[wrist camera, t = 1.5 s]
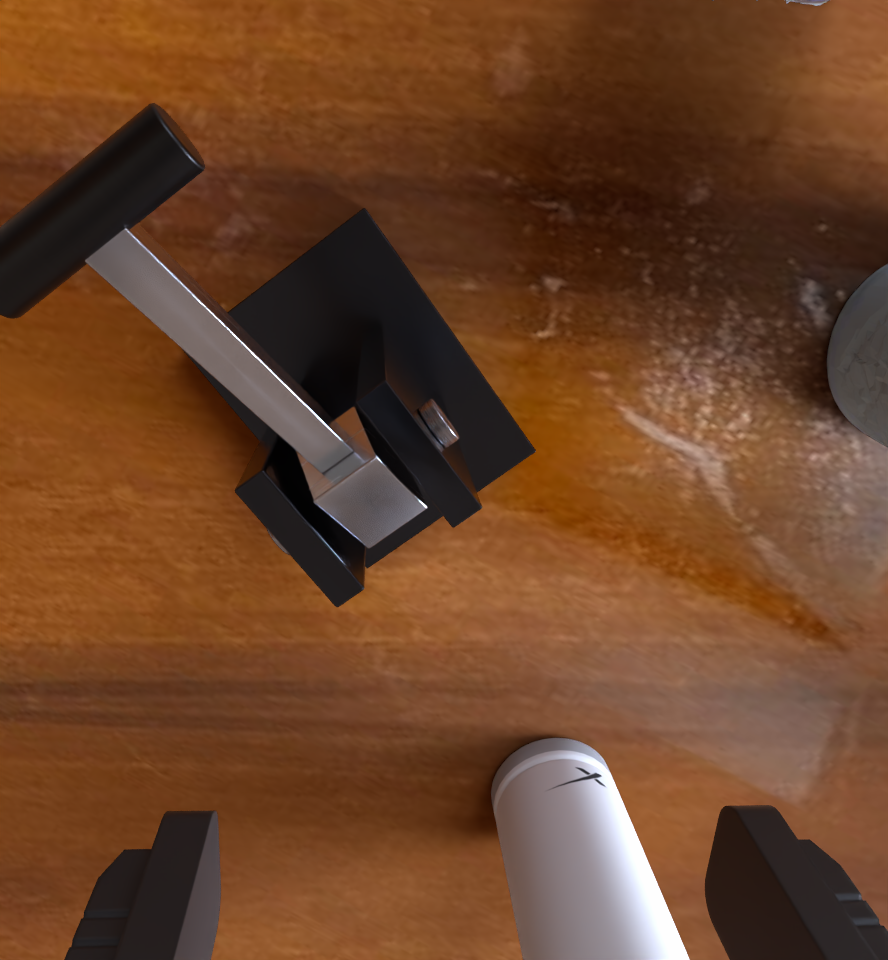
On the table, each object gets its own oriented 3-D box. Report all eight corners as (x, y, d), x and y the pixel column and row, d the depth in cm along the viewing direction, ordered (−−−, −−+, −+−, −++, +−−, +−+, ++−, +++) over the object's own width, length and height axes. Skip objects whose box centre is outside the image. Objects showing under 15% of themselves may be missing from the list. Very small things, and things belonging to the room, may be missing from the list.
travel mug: (569, 709, 39) (755, 1178, 20) (630, 796, 41) (850, 1295, 22) (464, 770, 39) (545, 1280, 20) (528, 853, 41) (657, 1385, 23)
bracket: (187, 343, 31) (70, 422, 19) (365, 207, 30) (357, 201, 18) (367, 557, 35) (362, 736, 23) (531, 443, 34) (616, 568, 22)
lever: (-40, 238, 16) (-51, 293, 14) (148, 84, 15) (159, 123, 14) (312, 522, 24) (330, 577, 23) (440, 431, 24) (469, 480, 22)
